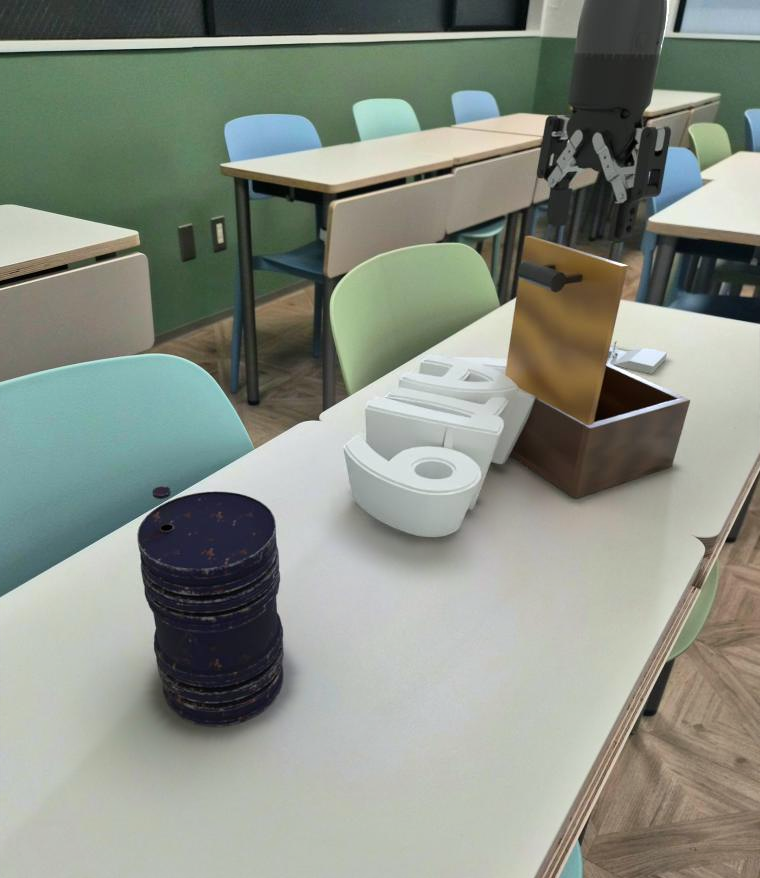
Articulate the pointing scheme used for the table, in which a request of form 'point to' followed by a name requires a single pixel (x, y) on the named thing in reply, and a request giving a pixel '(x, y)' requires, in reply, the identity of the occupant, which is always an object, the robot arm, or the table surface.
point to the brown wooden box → (605, 436)
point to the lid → (564, 325)
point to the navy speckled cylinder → (214, 604)
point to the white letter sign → (435, 442)
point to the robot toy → (636, 359)
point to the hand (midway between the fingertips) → (585, 233)
